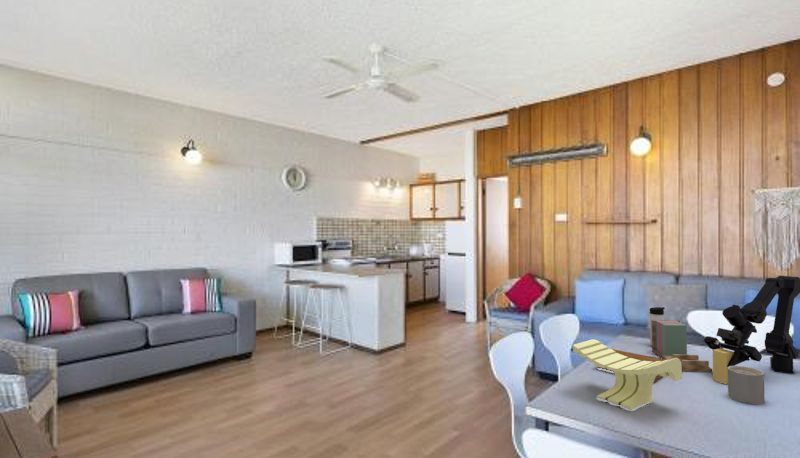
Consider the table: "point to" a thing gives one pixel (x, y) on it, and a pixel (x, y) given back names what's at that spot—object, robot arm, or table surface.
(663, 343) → the book row
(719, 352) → the pale yellow cuboid
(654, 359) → the diary
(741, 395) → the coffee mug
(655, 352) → the shelf slot board
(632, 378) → the slatted curved stool
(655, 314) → the travel mug
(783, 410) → the table surface
